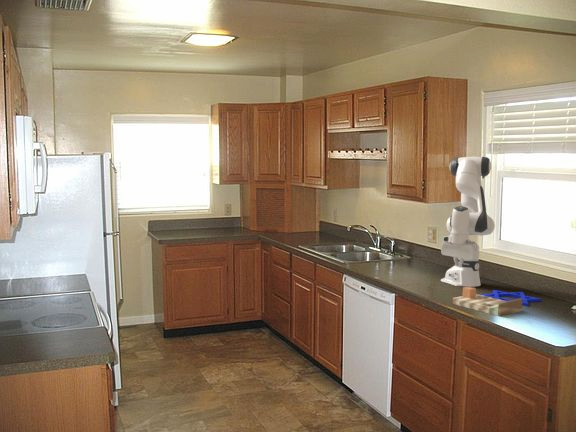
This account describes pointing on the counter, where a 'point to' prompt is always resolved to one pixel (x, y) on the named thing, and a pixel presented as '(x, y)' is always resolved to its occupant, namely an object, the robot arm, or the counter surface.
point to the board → (489, 304)
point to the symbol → (525, 299)
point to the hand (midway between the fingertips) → (458, 266)
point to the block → (469, 292)
